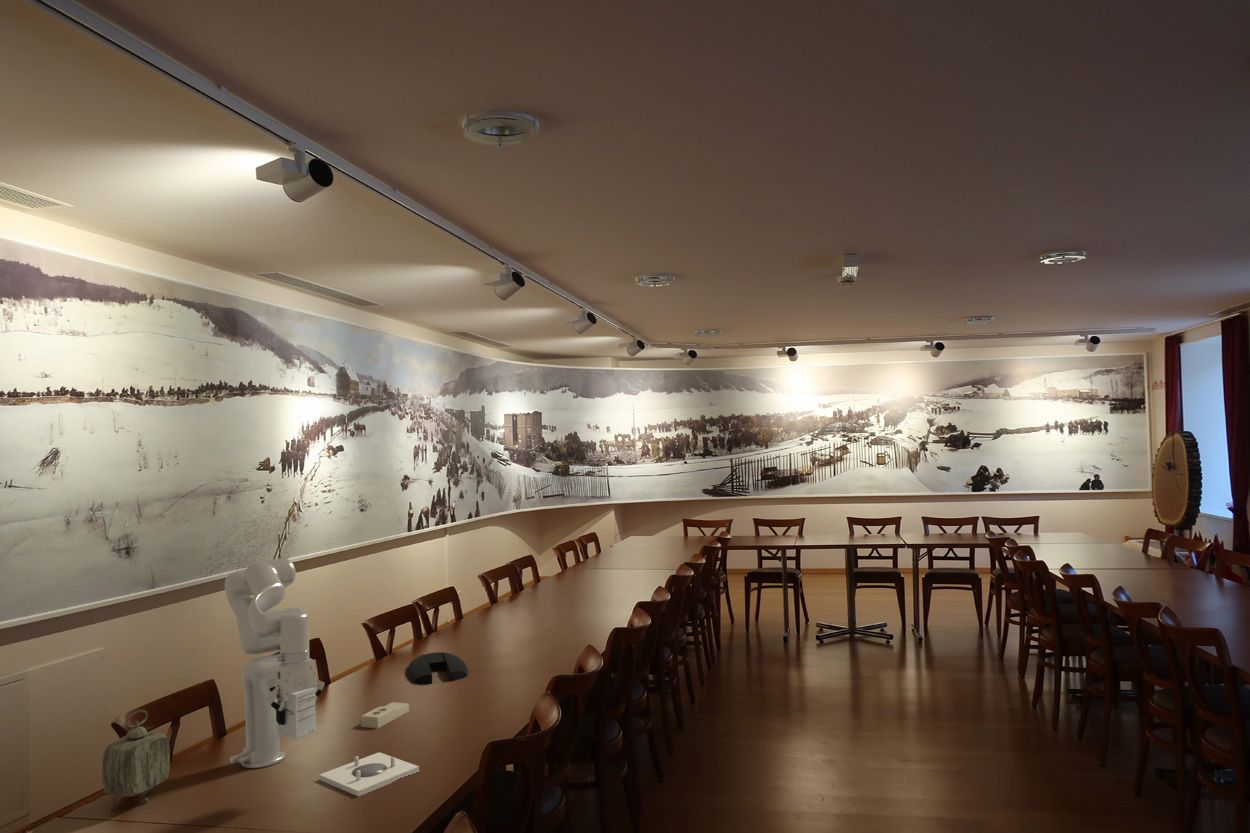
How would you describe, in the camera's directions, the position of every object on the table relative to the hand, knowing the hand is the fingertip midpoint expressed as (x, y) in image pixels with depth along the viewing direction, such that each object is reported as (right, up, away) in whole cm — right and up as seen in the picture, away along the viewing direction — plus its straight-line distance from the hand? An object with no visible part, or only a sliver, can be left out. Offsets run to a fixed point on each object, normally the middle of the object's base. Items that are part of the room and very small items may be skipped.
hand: (296, 719), depth 224 cm
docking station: (+11, -25, +119) cm, 122 cm away
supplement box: (0, -4, 0) cm, 4 cm away
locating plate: (+18, -19, +8) cm, 28 cm away
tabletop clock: (-42, -22, -4) cm, 47 cm away
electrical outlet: (+8, -23, +58) cm, 63 cm away
